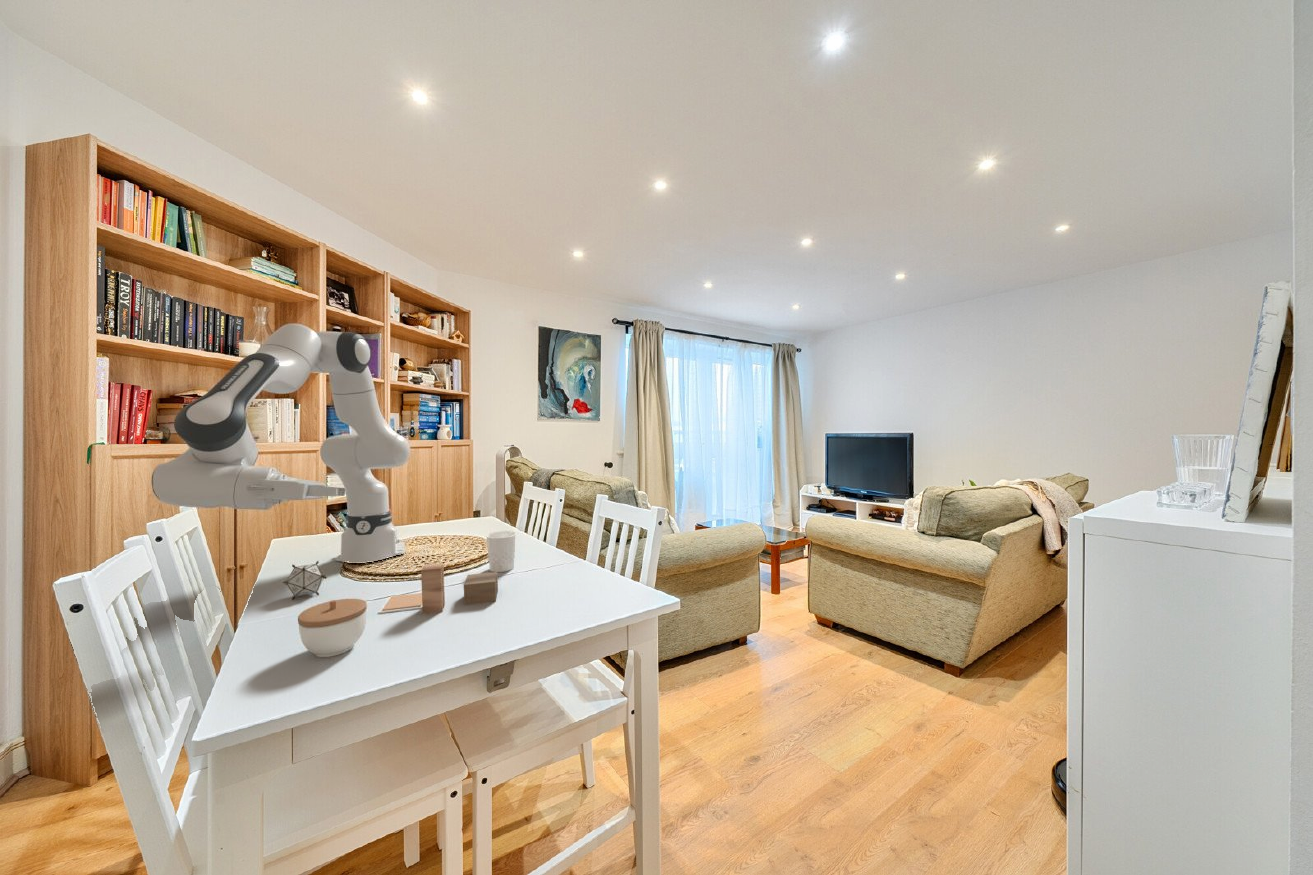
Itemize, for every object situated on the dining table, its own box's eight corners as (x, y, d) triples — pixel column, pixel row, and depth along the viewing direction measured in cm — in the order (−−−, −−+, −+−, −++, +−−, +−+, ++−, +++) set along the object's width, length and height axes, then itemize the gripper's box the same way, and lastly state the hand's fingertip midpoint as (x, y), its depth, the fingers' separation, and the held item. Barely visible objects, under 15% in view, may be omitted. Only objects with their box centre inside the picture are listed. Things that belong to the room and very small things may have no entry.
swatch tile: (389, 598, 113) (389, 595, 113) (430, 593, 115) (430, 591, 115) (378, 613, 104) (378, 610, 104) (423, 608, 106) (423, 605, 106)
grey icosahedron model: (297, 611, 114) (270, 580, 113) (331, 588, 121) (306, 559, 120) (304, 602, 109) (276, 569, 108) (340, 579, 116) (314, 548, 115)
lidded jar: (295, 649, 88) (293, 601, 88) (360, 630, 96) (358, 586, 95) (304, 671, 80) (301, 618, 80) (374, 648, 88) (372, 600, 88)
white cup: (481, 571, 131) (480, 536, 131) (499, 563, 139) (498, 530, 138) (504, 574, 129) (503, 539, 128) (521, 565, 136) (520, 532, 136)
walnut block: (468, 594, 115) (467, 574, 115) (498, 591, 117) (497, 571, 116) (464, 605, 108) (463, 584, 108) (495, 602, 110) (495, 581, 110)
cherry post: (426, 607, 107) (424, 564, 107) (444, 604, 108) (443, 562, 108) (422, 614, 103) (421, 570, 103) (442, 611, 104) (440, 568, 104)
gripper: (245, 470, 86) (333, 476, 92) (279, 474, 104) (351, 478, 110) (239, 505, 85) (328, 508, 91) (274, 502, 103) (347, 505, 109)
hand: (341, 492), depth 101 cm, fingers open, 8 cm apart
